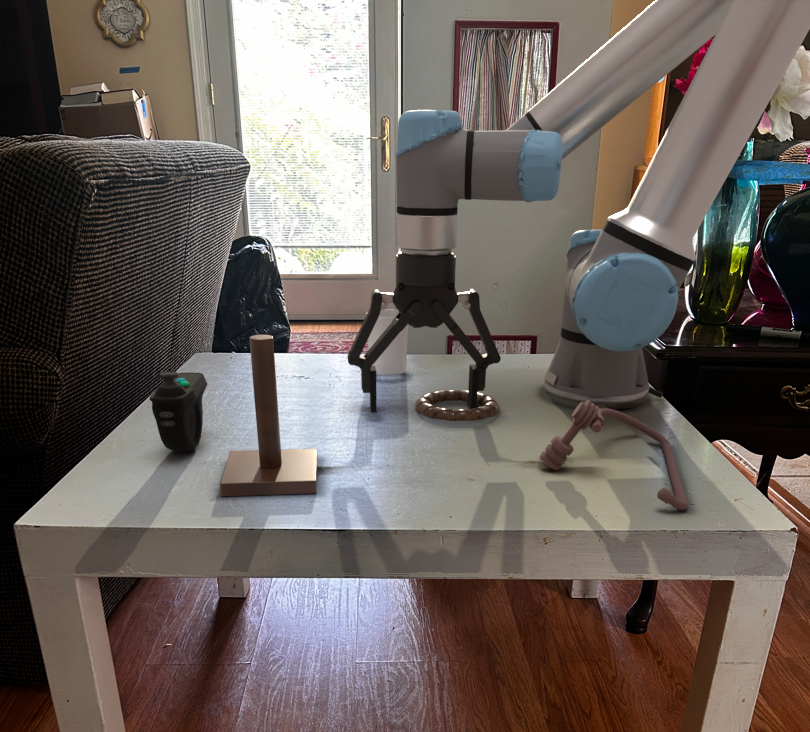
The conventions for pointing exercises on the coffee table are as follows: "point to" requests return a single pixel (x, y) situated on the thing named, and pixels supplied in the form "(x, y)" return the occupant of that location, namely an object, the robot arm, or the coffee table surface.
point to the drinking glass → (390, 346)
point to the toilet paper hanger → (593, 417)
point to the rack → (268, 441)
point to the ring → (427, 409)
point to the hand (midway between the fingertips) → (422, 414)
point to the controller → (179, 409)
